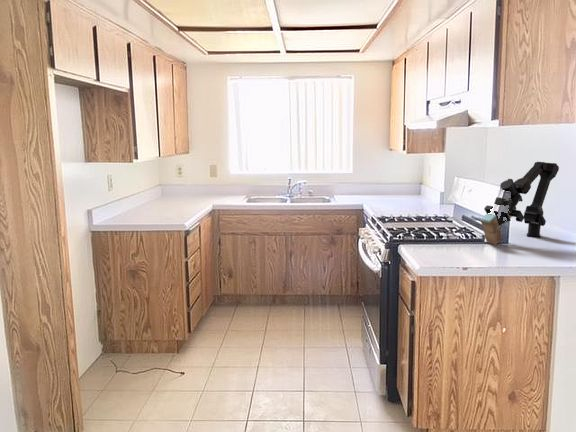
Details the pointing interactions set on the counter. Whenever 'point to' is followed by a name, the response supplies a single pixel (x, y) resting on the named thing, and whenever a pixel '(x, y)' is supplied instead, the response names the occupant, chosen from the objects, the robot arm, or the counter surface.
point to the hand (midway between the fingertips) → (495, 226)
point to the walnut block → (491, 229)
